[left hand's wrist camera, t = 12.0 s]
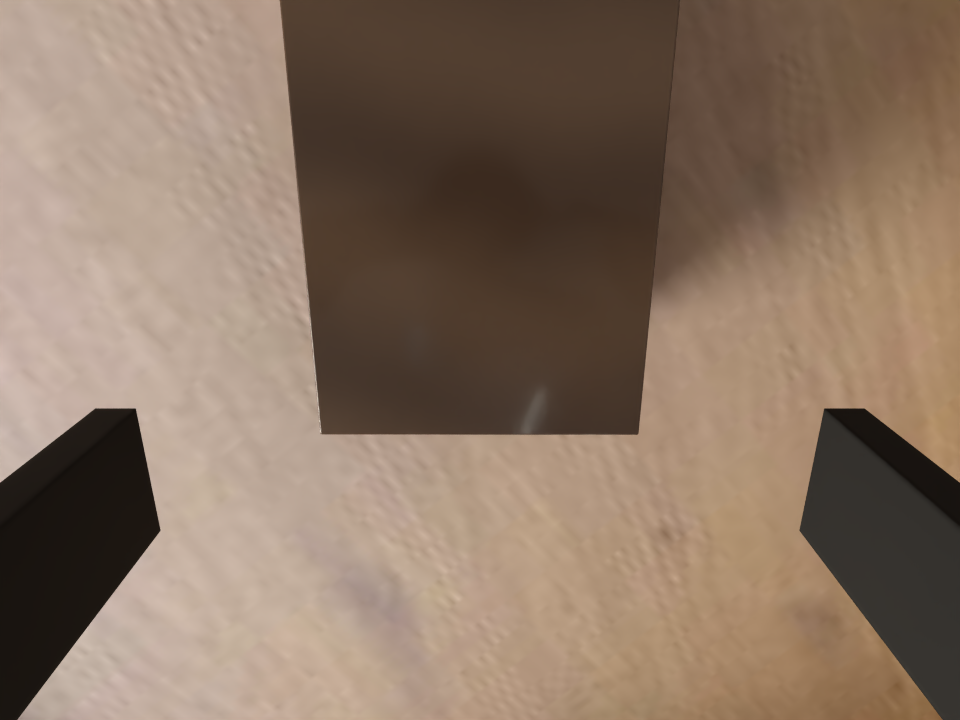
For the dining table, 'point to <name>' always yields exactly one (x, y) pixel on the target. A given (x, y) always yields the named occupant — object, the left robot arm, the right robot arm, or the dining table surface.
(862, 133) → the dining table surface
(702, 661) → the dining table surface
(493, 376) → the cabinet
